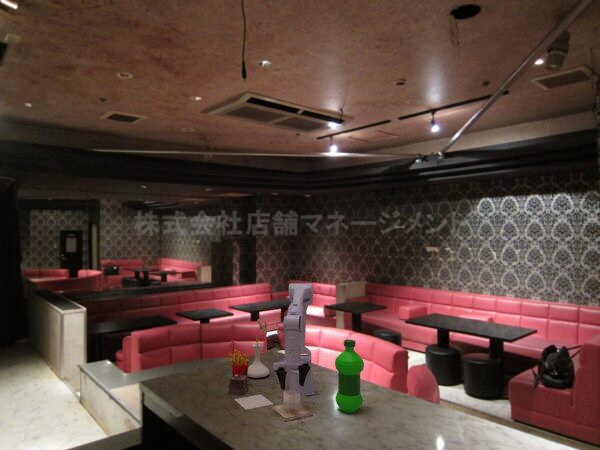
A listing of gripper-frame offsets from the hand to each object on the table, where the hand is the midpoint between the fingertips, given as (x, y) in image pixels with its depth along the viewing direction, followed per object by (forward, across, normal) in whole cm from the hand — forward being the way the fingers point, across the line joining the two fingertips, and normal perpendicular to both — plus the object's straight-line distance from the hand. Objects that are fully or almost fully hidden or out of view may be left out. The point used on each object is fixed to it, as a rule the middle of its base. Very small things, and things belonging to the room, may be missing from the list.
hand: (292, 387), depth 150 cm
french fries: (+10, -7, +34) cm, 36 cm away
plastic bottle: (+10, +20, -7) cm, 23 cm away
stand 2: (+9, 0, 0) cm, 9 cm away
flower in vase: (+10, +7, +45) cm, 47 cm away
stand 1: (+9, -9, +13) cm, 18 cm away
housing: (+8, 0, 0) cm, 8 cm away
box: (+10, -10, +25) cm, 29 cm away
